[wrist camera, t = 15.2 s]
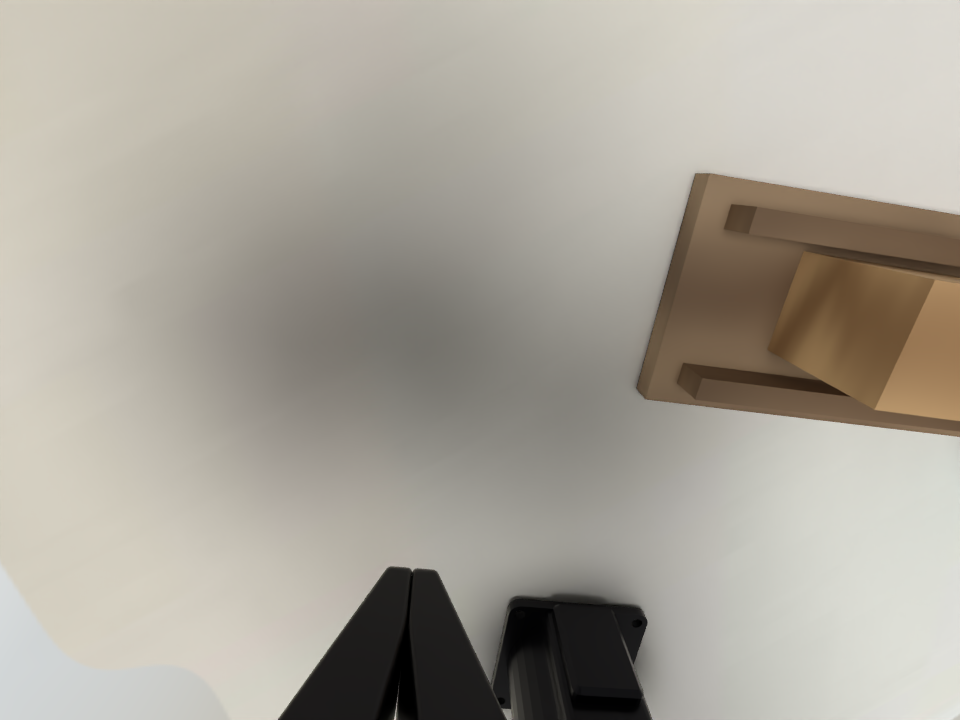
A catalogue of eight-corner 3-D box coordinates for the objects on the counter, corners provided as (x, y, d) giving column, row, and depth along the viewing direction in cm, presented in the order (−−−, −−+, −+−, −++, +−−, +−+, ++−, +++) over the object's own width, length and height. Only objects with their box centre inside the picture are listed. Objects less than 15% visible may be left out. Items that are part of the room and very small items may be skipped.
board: (1080, 442, 22) (1156, 474, 19) (636, 388, 20) (661, 417, 17) (1196, 257, 19) (1300, 268, 17) (695, 173, 17) (734, 173, 15)
